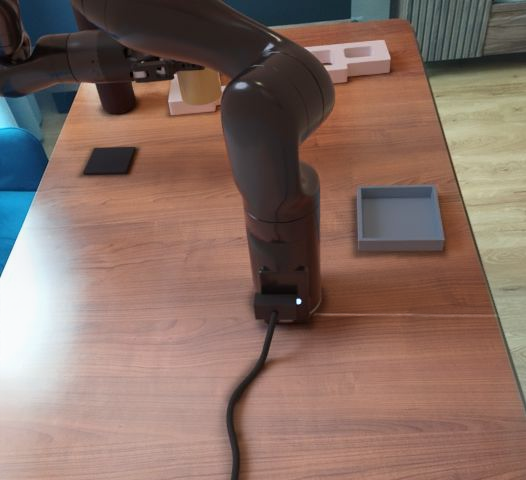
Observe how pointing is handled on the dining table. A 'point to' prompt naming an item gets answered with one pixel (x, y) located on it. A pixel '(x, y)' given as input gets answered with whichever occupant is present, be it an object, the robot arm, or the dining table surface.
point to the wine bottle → (110, 94)
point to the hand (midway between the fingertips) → (208, 50)
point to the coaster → (109, 160)
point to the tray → (399, 218)
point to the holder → (340, 55)
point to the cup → (199, 86)
